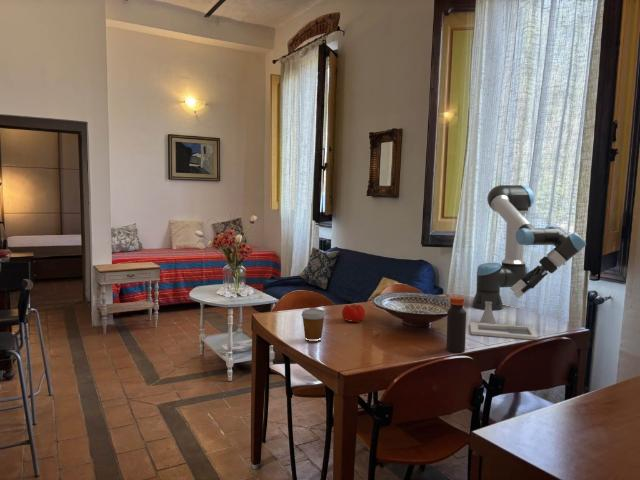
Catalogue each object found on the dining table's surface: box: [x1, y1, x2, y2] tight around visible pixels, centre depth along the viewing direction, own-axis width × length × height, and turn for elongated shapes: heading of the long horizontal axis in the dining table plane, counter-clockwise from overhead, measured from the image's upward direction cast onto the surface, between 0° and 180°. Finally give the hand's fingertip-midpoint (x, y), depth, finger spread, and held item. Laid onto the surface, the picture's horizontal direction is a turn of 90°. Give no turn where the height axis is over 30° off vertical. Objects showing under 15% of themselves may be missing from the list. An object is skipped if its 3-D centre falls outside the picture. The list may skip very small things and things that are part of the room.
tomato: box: [341, 303, 366, 323], centre depth 215 cm, size 11×11×8 cm
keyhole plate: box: [469, 321, 540, 341], centre depth 198 cm, size 16×26×2 cm, turn 74°
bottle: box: [445, 296, 467, 354], centre depth 173 cm, size 7×7×20 cm
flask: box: [479, 302, 497, 324], centre depth 213 cm, size 7×7×10 cm
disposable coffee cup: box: [301, 308, 326, 344], centre depth 184 cm, size 10×10×12 cm
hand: (513, 293), depth 209 cm, fingers open, 13 cm apart
